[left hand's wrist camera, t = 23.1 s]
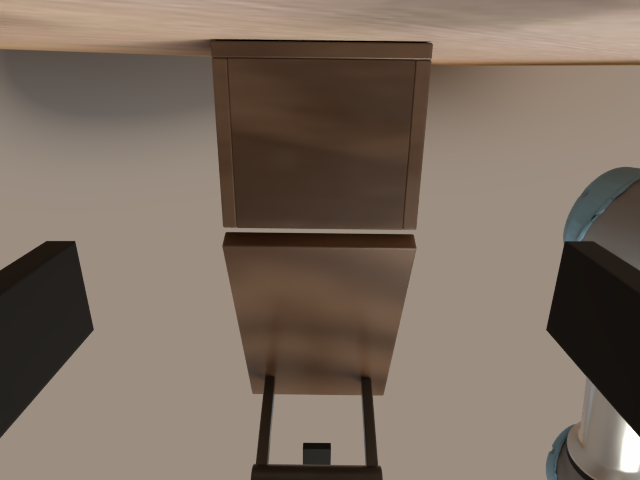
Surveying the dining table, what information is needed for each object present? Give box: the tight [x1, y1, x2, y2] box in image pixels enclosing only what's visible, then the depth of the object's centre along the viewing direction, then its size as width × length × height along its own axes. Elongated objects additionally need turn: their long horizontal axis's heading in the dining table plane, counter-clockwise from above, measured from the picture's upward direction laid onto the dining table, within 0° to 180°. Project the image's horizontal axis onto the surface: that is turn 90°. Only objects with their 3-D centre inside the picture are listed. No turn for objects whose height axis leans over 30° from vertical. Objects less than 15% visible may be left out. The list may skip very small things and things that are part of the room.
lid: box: [223, 232, 416, 480], centre depth 26 cm, size 16×10×8 cm
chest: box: [211, 41, 433, 230], centre depth 28 cm, size 15×10×9 cm, turn 0°
